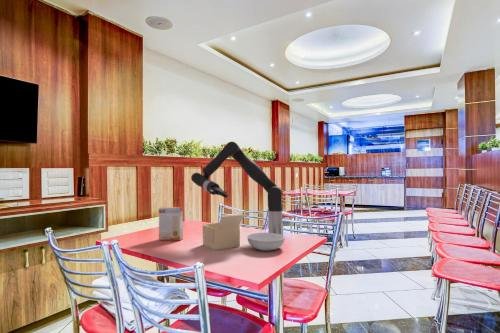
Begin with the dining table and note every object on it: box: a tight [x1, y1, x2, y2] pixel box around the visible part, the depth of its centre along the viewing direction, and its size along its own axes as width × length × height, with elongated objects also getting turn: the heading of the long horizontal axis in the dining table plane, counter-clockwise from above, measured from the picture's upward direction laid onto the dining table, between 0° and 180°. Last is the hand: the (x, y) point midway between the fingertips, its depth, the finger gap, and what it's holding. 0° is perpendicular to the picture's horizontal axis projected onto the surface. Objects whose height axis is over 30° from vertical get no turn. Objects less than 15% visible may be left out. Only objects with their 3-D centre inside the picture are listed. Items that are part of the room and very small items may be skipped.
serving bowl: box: [247, 232, 286, 252], centre depth 160 cm, size 21×21×7 cm
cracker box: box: [158, 206, 184, 242], centre depth 182 cm, size 14×6×21 cm, turn 84°
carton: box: [202, 221, 241, 252], centre depth 167 cm, size 17×17×12 cm
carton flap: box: [217, 213, 245, 229], centre depth 157 cm, size 10×14×1 cm
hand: (226, 196), depth 170 cm, fingers closed
